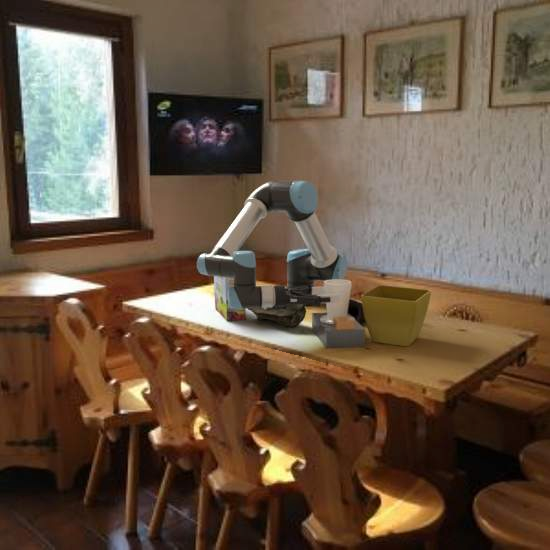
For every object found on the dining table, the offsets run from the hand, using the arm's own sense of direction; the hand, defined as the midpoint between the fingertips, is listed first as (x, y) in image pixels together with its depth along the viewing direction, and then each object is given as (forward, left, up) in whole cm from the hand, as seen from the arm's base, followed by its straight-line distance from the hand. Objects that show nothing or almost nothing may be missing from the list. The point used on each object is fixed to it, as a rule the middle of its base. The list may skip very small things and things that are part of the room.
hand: (334, 294), depth 211 cm
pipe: (-23, +13, -16) cm, 31 cm away
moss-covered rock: (-22, -17, -16) cm, 32 cm away
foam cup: (0, +1, -9) cm, 9 cm away
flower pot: (+6, +20, -16) cm, 26 cm away
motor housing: (0, +1, -15) cm, 16 cm away
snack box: (-39, -34, -16) cm, 54 cm away
